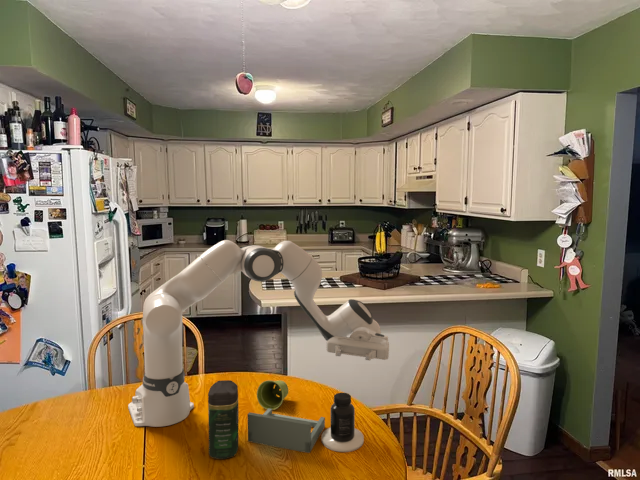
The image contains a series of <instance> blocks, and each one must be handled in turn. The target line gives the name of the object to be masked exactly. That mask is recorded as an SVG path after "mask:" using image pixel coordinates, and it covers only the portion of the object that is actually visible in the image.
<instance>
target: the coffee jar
mask: <svg viewBox="0 0 640 480" xmlns="http://www.w3.org/2000/svg"><path fill="white" fill-rule="evenodd" d="M207 397H208V398H207V403H208V405H207V407H208V408H207V410H208V411H207V412H208V413H207V414H208V455H209V457H211V458H212V459H217V460H226V459H230V458H232V457H234V456H236V454H237V453H238V449H239V419H240V418H239V412H240V411H239V386H238V384H237V383H236V382H234V381H233V380H230V379H229V380H217V381H216V382H214V383H213V384H212V385H211V386H210V388H209V391H208V394H207Z"/></svg>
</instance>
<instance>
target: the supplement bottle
mask: <svg viewBox="0 0 640 480" xmlns="http://www.w3.org/2000/svg"><path fill="white" fill-rule="evenodd" d="M355 424H356V423H355V407H354V405H353V404H352V396H351V395H350V394H349V393H347V392H338V393H335V394H334V397H333V404H332V405H331V407H330V427H331V437H332V439H334V440H335V441H338V442H348V441H351V440H352V439H353V438H354V432H355V426H356V425H355Z"/></svg>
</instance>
